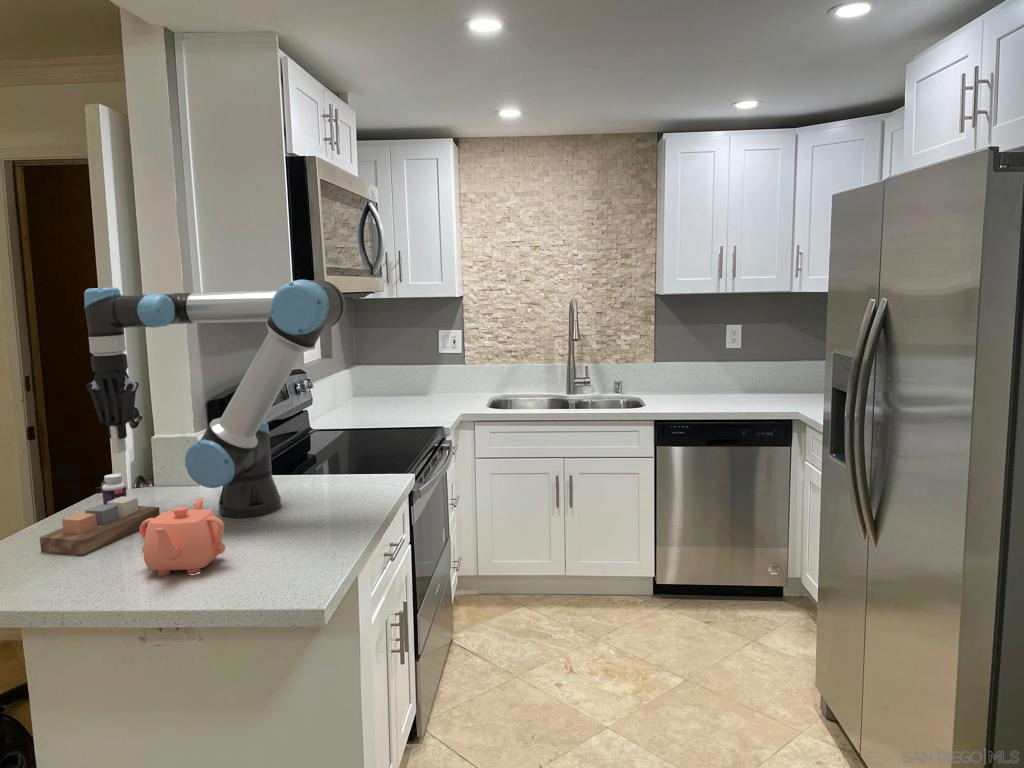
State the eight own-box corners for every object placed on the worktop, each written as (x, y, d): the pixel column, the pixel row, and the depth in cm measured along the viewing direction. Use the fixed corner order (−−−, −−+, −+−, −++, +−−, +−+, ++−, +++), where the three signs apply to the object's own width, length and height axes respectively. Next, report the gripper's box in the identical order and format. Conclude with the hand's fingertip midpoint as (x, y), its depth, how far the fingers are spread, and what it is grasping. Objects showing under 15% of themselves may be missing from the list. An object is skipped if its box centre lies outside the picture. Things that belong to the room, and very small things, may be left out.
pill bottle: (118, 516, 190) (114, 478, 189) (99, 515, 191) (95, 477, 190) (132, 509, 195) (129, 473, 194) (114, 508, 197) (111, 472, 195)
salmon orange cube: (97, 535, 170) (95, 514, 170) (81, 542, 166) (79, 520, 165) (80, 534, 172) (78, 512, 171) (64, 541, 167) (62, 519, 166)
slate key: (119, 526, 177) (117, 505, 176) (104, 532, 172) (102, 511, 172) (103, 525, 178) (100, 504, 177) (87, 531, 173) (85, 510, 173)
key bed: (160, 521, 185) (159, 507, 185) (82, 556, 162) (81, 540, 162) (122, 518, 188) (121, 504, 188) (41, 552, 165) (39, 537, 165)
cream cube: (139, 517, 183) (137, 497, 182) (125, 523, 179) (123, 503, 178) (123, 516, 184) (121, 496, 183) (109, 522, 180) (107, 502, 179)
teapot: (160, 589, 144) (154, 525, 142) (133, 566, 156) (128, 507, 154) (237, 568, 154) (232, 508, 152) (206, 547, 166) (202, 492, 164)
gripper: (143, 351, 180) (153, 448, 183) (97, 352, 183) (108, 447, 186) (120, 355, 172) (131, 456, 176) (72, 355, 175) (84, 455, 179)
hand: (119, 451), depth 181 cm, fingers closed
